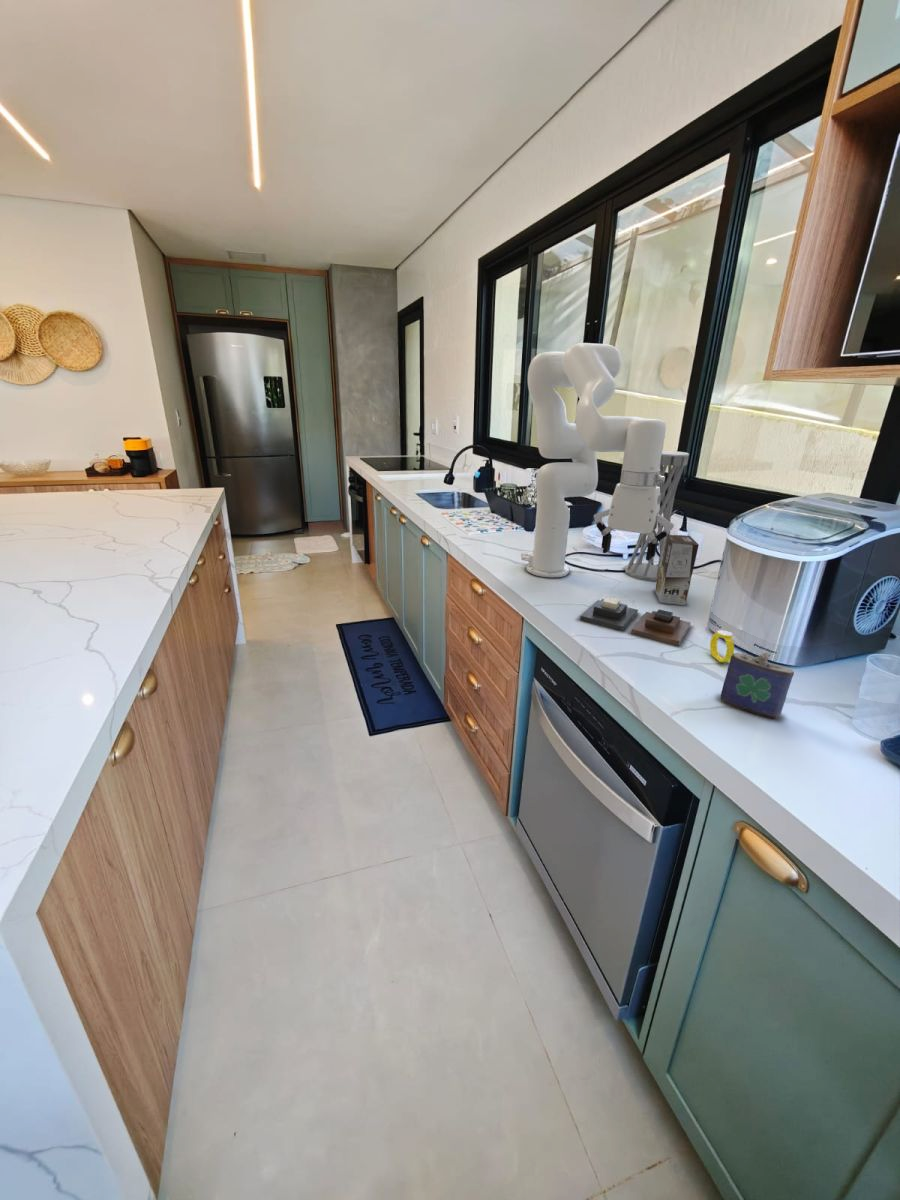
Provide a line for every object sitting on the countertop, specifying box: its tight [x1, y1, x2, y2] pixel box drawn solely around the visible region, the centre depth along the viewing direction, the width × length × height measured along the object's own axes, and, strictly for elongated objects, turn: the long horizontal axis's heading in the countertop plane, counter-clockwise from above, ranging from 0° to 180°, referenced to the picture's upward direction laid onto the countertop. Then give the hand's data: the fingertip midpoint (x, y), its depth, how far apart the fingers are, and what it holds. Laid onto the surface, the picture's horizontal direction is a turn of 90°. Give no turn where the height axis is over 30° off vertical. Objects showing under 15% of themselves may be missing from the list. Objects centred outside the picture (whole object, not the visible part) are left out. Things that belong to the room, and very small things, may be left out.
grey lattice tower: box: [624, 450, 690, 582], centre depth 144 cm, size 14×13×35 cm
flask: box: [719, 651, 795, 720], centre depth 85 cm, size 9×3×11 cm, turn 51°
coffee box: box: [654, 534, 700, 606], centre depth 130 cm, size 9×6×16 cm
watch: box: [709, 629, 735, 663], centre depth 101 cm, size 6×3×6 cm, turn 4°
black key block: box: [579, 598, 639, 632], centre depth 120 cm, size 10×12×3 cm
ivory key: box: [602, 596, 621, 610], centre depth 119 cm, size 3×3×2 cm
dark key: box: [654, 608, 674, 623], centre depth 113 cm, size 3×3×2 cm
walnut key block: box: [630, 610, 692, 647], centre depth 114 cm, size 10×12×3 cm
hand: (627, 555), depth 115 cm, fingers open, 9 cm apart
